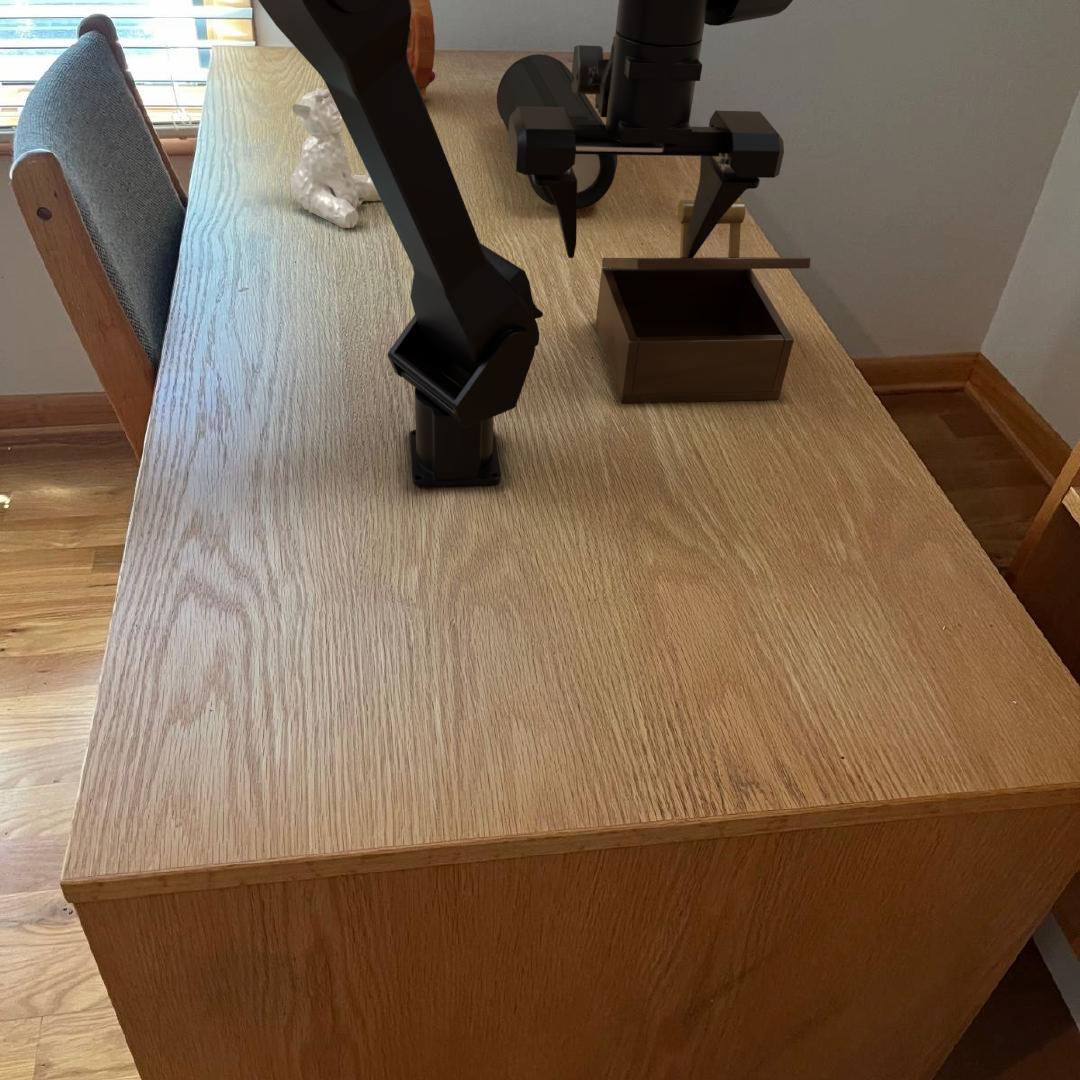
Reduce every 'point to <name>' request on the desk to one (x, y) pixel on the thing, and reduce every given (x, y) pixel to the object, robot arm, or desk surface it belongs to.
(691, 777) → the desk surface
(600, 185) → the portable speaker
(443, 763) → the desk surface
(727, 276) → the keepsake box
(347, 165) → the white creature statuette
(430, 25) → the mug
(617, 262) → the lid
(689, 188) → the desk surface
